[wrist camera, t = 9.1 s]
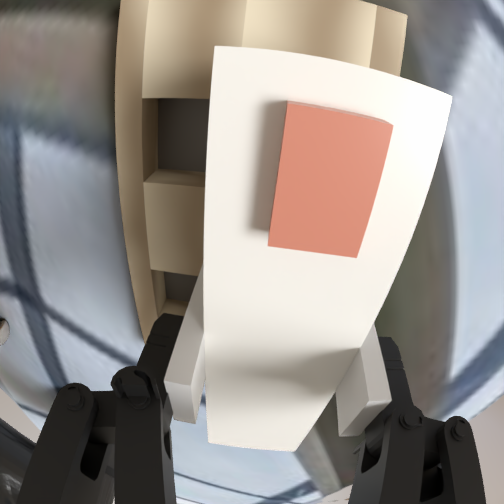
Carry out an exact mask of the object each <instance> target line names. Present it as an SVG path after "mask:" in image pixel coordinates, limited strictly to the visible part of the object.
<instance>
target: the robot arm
mask: <svg viewBox="0 0 504 504" xmlns="http://www.w3.org/2000/svg"><path fill="white" fill-rule="evenodd" d="M203 267H204V262H203V265H202V267H201V270H200V273H199V276H198V279H197V281H196V284H195V287H194V290H193V293H192V296H191V299H190V302H189V304H188V307H187V310H186V313H185V316H180V315H174V314H168V313H163V314H162V315H161V316H160V317H159V318H158V319H157V320H156V321H155V322H154V324H153V326H152V329H151V331H150V335H149V336H148V338H147V341H146V344H145V346H144V348H143V351H142V353H141V356H140V358H139V361H138V363H137V366H129V367H125V368H123V369H121V370H119V371H118V372H117V373H116V374H115V375H114V376H113V378H112V381H111V386H112V388H113V391H90V389H89V388H88V387H87V386H85V385H83V384H81V383H71V384H67V385H66V386H64V387H63V388H61V390H60V391H59V393H58V394H57V396H56V398H55V400H54V403H53V405H52V407H51V409H50V412H49V414H48V416H47V419H46V421H45V423H44V426H43V428H42V431H41V433H40V436H39V438H38V441H37V443H34V442H33V441H31V440H30V439H28V438H27V437H25V436H24V435H22V434H21V433H20V432H18V431H17V430H16V429H14V428H13V427H12V426H10V425H9V424H8V423H6V422H5V421H4V420H2V419H1V418H0V504H112V503H113V499H114V497H115V504H177V503H176V493H175V483H174V471H173V457H172V441H171V430H170V423H171V419H172V415H173V418H174V420H177V421H182V422H187V423H193V424H196V420H197V415H198V410H199V405H200V401H201V396H202V391H203V387H204V382H205V377H206V376H205V341H204V306H203ZM403 368H404V367H403V363H402V361H401V356H400V352H399V349H398V347H397V345H396V344H395V342H394V341H393V340H392V338H391V337H377V333H376V329H375V325H374V323H373V325H372V327H371V329H370V331H369V333H368V335H367V336H366V338H365V340H364V342H363V344H362V346H361V348H359V350H358V352H357V354H356V356H355V358H354V359H353V361H352V363H351V365H350V366H349V368H348V370H347V372H346V373H345V375H344V377H343V379H342V380H341V382H340V384H339V385H338V387H337V389H336V401H337V413H338V427H339V436H359V435H360V434H361V433H362V432H363V431H364V430H365V436H366V439H365V440H364V441H363V442H362V443H360V444H359V445H358V446H357V447H356V448H355V450H354V452H353V454H356V453H358V452H359V451H360V453H359V458H358V463H357V468H356V473H355V477H354V482H353V486H352V490H351V494H350V498H349V502H348V504H486V499H485V492H484V485H483V479H482V474H481V469H480V463H479V458H478V453H477V449H476V445H475V440H474V436H473V432H472V429H471V426H470V424H469V422H468V421H467V420H466V419H465V418H463V417H461V416H453V417H451V418H449V419H448V420H447V421H446V422H443V421H438V420H434V419H430V418H427V417H424V415H423V413H422V411H421V410H420V409H418V408H417V407H416V406H414V405H413V402H412V398H411V394H410V390H409V386H408V382H407V378H406V374H405V370H403Z"/></svg>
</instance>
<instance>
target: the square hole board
mask: <svg viewBox="0 0 504 504" xmlns="http://www.w3.org/2000/svg"><path fill="white" fill-rule="evenodd" d="M406 24H407V15H405V14H402V13H399V12H396V11H393V10H390V9H387V8H384V7H381V6H377V5H374V4H371V3H367V2H363V1H360V0H121V5H120V14H119V24H118V35H117V50H116V70H115V133H116V155H117V171H118V183H119V194H120V204H121V213H122V222H123V230H124V237H125V244H126V251H127V258H128V264H129V270H130V276H131V281H132V287H133V292H134V297H135V302H136V307H137V312H138V317H139V321H140V326H141V330H142V334H143V339H144V343H145V344H146V341H147V338H148V336H149V335H150V331H151V329H152V326H153V324H154V322H155V321H156V320H157V319H158V318H159V317H160V316H161V315H162V314H163V313H168V314H174V315H180V316H185V313H186V310H187V307H188V304H189V302H190V299H191V296H192V293H193V290H194V287H195V284H196V281H197V279H198V276H199V273H200V270H201V267H202V265H203V262H204V211H205V181H206V159H207V140H208V123H209V108H210V94H211V81H212V69H213V58H214V48H215V46H232V47H247V48H259V49H269V50H278V51H286V52H293V53H299V54H306V55H312V56H317V57H323V58H328V59H333V60H338V61H342V62H347V63H351V64H355V65H359V66H363V67H367V68H371V69H375V70H378V71H382V72H385V73H389V74H392V75H395V76H398V77H399V76H400V70H401V63H402V56H403V49H404V41H405V33H406Z"/></svg>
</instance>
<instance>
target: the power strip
mask: <svg viewBox="0 0 504 504" xmlns="http://www.w3.org/2000/svg"><path fill="white" fill-rule="evenodd" d="M451 102H452V96H450V95H448V94H446V93H443V92H441V91H438V90H435V89H433V88H430V87H427V86H425V85H422V84H419V83H416V82H413V81H411V80H408V79H405V78H401V77H398V76H395V75H392V74H389V73H385V72H382V71H378V70H375V69H371V68H367V67H363V66H359V65H355V64H351V63H347V62H342V61H338V60H333V59H328V58H323V57H317V56H312V55H306V54H299V53H293V52H286V51H278V50H269V49H259V48H247V47H232V46H215V48H214V58H213V69H212V81H211V94H210V108H209V123H208V140H207V159H206V181H205V211H204V267H203V306H204V341H205V376H206V377H205V390H206V412H207V430H208V443H214V444H220V445H228V446H235V447H244V448H253V449H264V450H277V451H295V450H296V449H297V448H298V446H299V445H300V443H301V442H302V441H303V439H304V438H305V436H306V435H307V434H308V432H309V431H310V429H311V428H312V426H313V425H314V423H315V422H316V420H317V419H318V417H319V416H320V414H321V413H322V411H323V410H324V408H325V407H326V405H327V404H328V402H329V400H330V399H331V397H332V396H333V394H334V392H335V391H336V389H337V387H338V385H339V384H340V382H341V380H342V379H343V377H344V375H345V373H346V372H347V370H348V368H349V366H350V365H351V363H352V361H353V359H354V358H355V356H356V354H357V352H358V350H359V348H361V346H362V344H363V342H364V340H365V338H366V336H367V335H368V333H369V331H370V329H371V327H372V325H373V323H374V321H375V319H376V317H377V315H378V313H379V311H380V309H381V307H382V305H383V303H384V300H385V298H386V296H387V294H388V292H389V290H390V287H391V285H392V283H393V281H394V279H395V276H396V274H397V272H398V269H399V267H400V265H401V262H402V260H403V258H404V255H405V253H406V250H407V248H408V245H409V243H410V240H411V237H412V235H413V232H414V230H415V227H416V224H417V222H418V219H419V216H420V213H421V210H422V207H423V205H424V202H425V199H426V196H427V193H428V189H429V186H430V183H431V180H432V177H433V173H434V170H435V167H436V163H437V160H438V156H439V152H440V149H441V145H442V141H443V137H444V133H445V129H446V125H447V120H448V116H449V111H450V106H451Z"/></svg>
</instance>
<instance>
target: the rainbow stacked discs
mask: <svg viewBox="0 0 504 504" xmlns="http://www.w3.org/2000/svg"><path fill="white" fill-rule="evenodd" d="M9 333H10V330H9V326H8V323H7V321H6V320H3V321H2V322H0V346H1V345H3V344H4V343H5V342H6V341H7V339H8V337H9Z"/></svg>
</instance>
